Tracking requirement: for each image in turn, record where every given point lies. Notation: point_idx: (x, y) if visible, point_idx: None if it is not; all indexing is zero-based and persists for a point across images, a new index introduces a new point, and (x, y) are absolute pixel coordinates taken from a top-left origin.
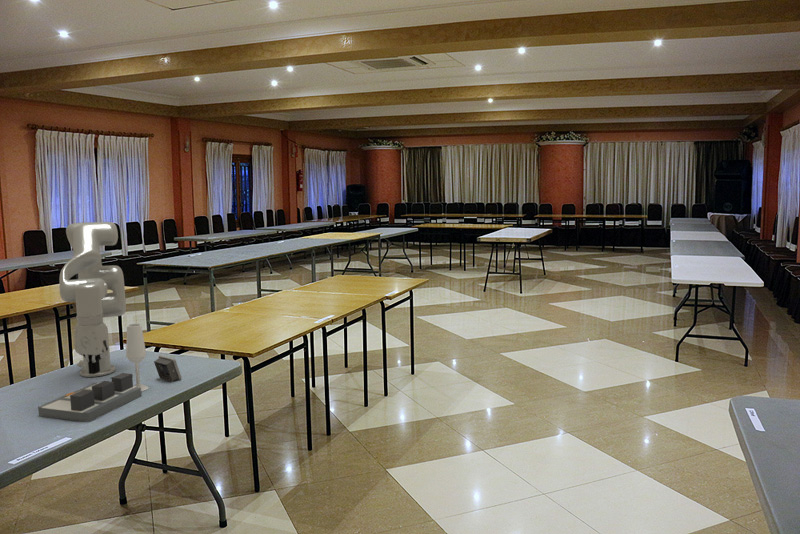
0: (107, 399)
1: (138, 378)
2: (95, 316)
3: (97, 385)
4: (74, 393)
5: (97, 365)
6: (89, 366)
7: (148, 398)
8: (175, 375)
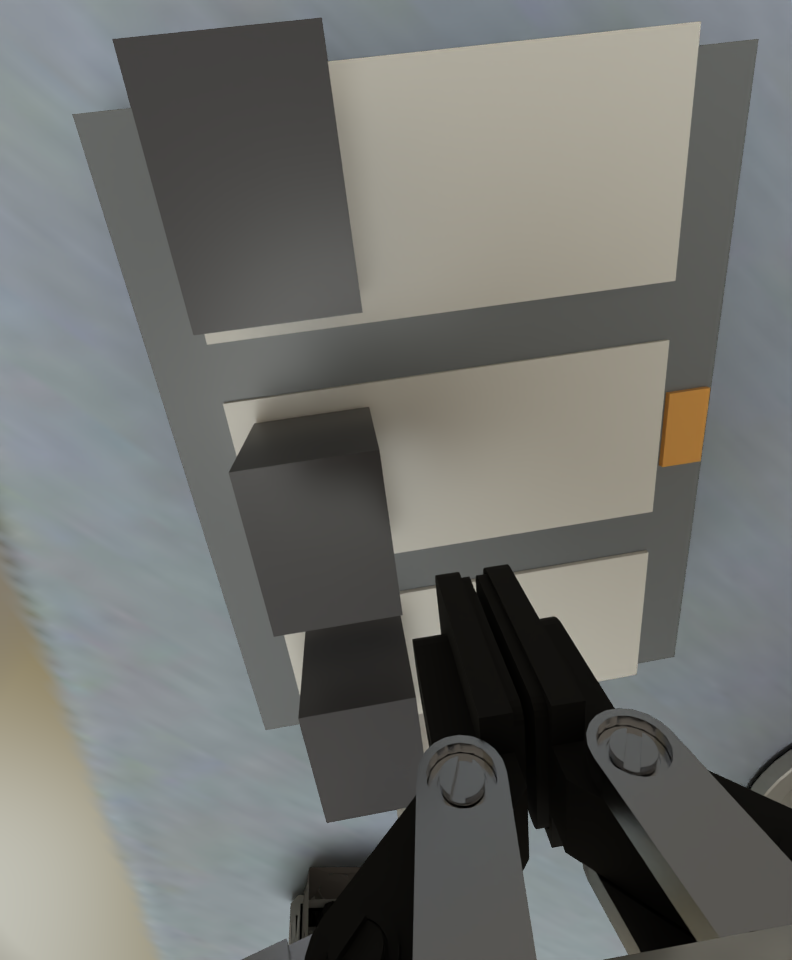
0: None
1: (398, 809)
2: None
3: (336, 494)
4: (655, 451)
5: (427, 729)
6: (525, 643)
7: (187, 674)
8: (304, 919)
